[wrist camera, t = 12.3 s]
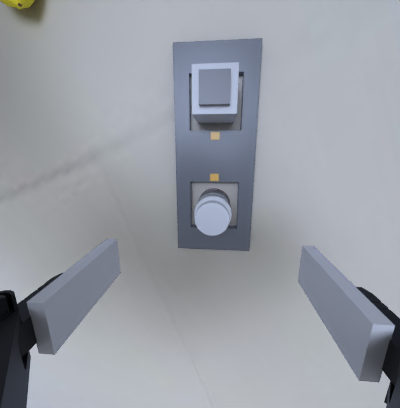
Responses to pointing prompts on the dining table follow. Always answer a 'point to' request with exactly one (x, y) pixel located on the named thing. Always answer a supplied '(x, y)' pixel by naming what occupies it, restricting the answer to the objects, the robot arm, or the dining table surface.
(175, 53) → the dock
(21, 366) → the robot arm
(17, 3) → the lemon
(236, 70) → the square plug
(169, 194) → the dining table surface
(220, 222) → the pill bottle
